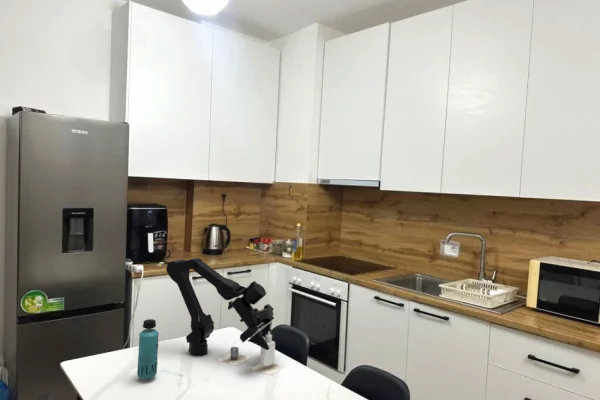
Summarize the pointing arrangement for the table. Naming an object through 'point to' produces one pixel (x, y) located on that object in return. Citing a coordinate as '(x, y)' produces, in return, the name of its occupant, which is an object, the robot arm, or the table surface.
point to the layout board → (259, 368)
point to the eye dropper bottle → (268, 351)
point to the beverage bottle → (148, 350)
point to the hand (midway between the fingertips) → (271, 346)
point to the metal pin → (234, 353)
